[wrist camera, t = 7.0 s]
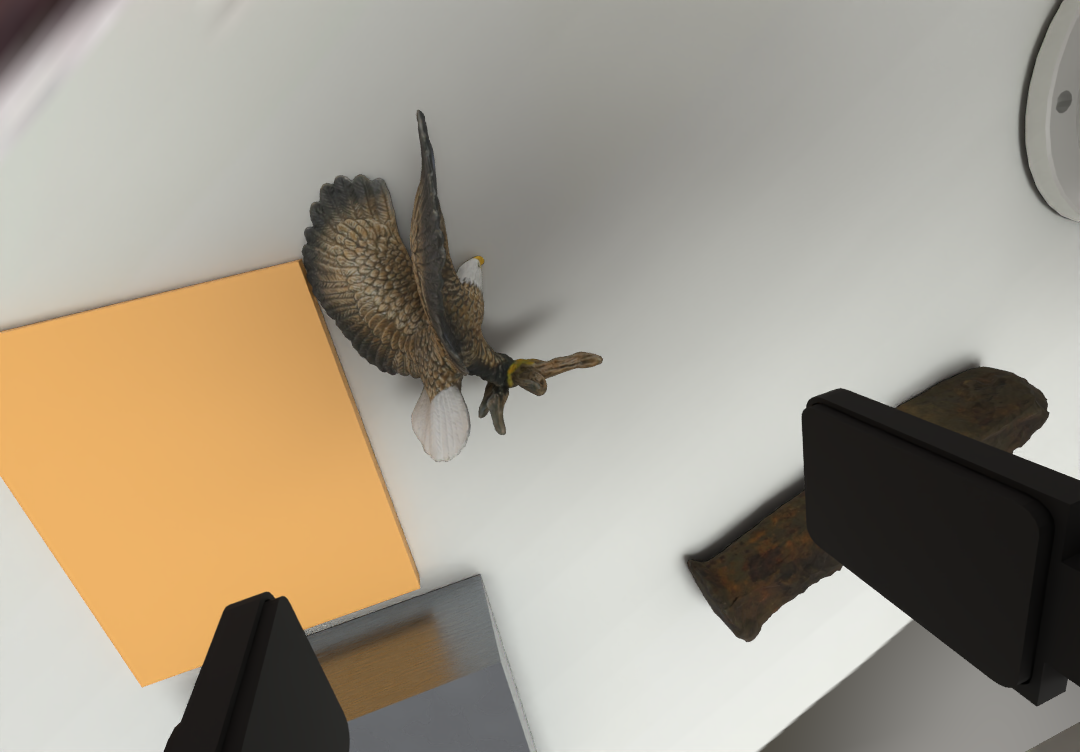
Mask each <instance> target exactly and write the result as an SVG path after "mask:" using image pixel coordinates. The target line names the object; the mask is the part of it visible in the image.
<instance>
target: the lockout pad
mask: <svg viewBox="0 0 1080 752" xmlns="http://www.w3.org/2000/svg"><path fill="white" fill-rule="evenodd" d="M306 275H307V272H306V269H305V267H304V264H303V261H302V259H300V260H295V261H291V262H287V263H283V264H279V265H275V266H271V267H266V268H262V269H258V270H254V271H250V272H246V273H242V274H237V275H233V276H229V277H225V278H221V279H217V280H212V281H208V282H204V283H200V284H196V285H192V286H188V287H183V288H179V289H175V290H171V291H167V292H163V293H159V294H154V295H150V296H146V297H142V298H138V299H134V300H130V301H125V302H121V303H117V304H113V305H109V306H105V307H101V308H96V309H92V310H88V311H84V312H80V313H76V314H72V315H67V316H63V317H59V318H55V319H51V320H47V321H42V322H38V323H34V324H30V325H26V326H22V327H18V328H13V329H9V330H5V331H1V332H0V476H1V477H2V479H3V480H4V482H5V483H6V485H7V486H8V488H9V489H10V491H11V492H12V494H13V495H14V497H15V498H16V500H17V501H18V503H19V504H20V506H21V507H22V509H23V510H24V512H25V513H26V515H27V516H28V518H29V519H30V521H31V522H32V524H33V525H34V527H35V528H36V530H37V531H38V533H39V534H40V536H41V537H42V539H43V540H44V542H45V543H46V545H47V546H48V548H49V549H50V551H51V552H52V554H53V555H54V557H55V558H56V560H57V561H58V563H59V564H60V566H61V567H62V568H63V570H64V571H65V573H66V574H67V576H68V577H69V579H70V580H71V582H72V583H73V585H74V586H75V588H76V589H77V591H78V592H79V594H80V595H81V597H82V598H83V600H84V601H85V603H86V604H87V606H88V607H89V609H90V610H91V612H92V613H93V615H94V616H95V618H96V619H97V621H98V622H99V624H100V625H101V627H102V628H103V630H104V631H105V633H106V634H107V636H108V637H109V639H110V640H111V642H112V643H113V645H114V646H115V648H116V649H117V651H118V652H119V654H120V655H121V657H122V658H123V660H124V661H125V663H126V664H127V666H128V667H129V669H130V670H131V672H132V673H133V675H134V676H135V678H136V679H137V681H138V682H139V684H140V685H141V687H144V686H147V685H150V684H153V683H156V682H158V681H161V680H164V679H167V678H170V677H172V676H175V675H178V674H181V673H184V672H186V671H189V670H192V669H195V668H198V667H201V666H202V665H203V663H204V660H205V657H206V655H207V652H208V649H209V647H210V644H211V642H212V639H213V636H214V634H215V631H216V629H217V626H218V623H219V621H220V618H221V615H222V613H223V611H224V609H225V607H226V606H228V605H229V604H232V603H235V602H238V601H241V600H244V599H246V598H249V597H252V596H255V595H258V594H260V593H263V592H266V591H267V592H270V593H271V594H272V595H273V596H274V597H275V598H278V597H281V596H285V597H286V598H287V599H288V600H289V602H290V604H291V606H292V608H293V610H294V612H295V614H296V616H297V618H298V620H299V622H300V624H301V626H302V628H303V630H305V629H307V628H310V627H313V626H316V625H319V624H321V623H324V622H327V621H330V620H333V619H336V618H338V617H341V616H344V615H347V614H350V613H352V612H355V611H358V610H361V609H364V608H367V607H369V606H372V605H375V604H378V603H381V602H383V601H386V600H389V599H392V598H395V597H397V596H400V595H403V594H406V593H409V592H412V591H414V590H417V589H420V577H419V574H418V571H417V568H416V566H415V563H414V560H413V557H412V555H411V552H410V549H409V547H408V544H407V541H406V539H405V536H404V533H403V531H402V528H401V525H400V522H399V520H398V517H397V514H396V512H395V509H394V506H393V504H392V501H391V498H390V496H389V493H388V490H387V487H386V485H385V482H384V479H383V477H382V474H381V471H380V469H379V466H378V463H377V460H376V458H375V455H374V452H373V450H372V447H371V444H370V442H369V439H368V436H367V434H366V431H365V428H364V425H363V423H362V420H361V417H360V415H359V412H358V409H357V407H356V404H355V401H354V399H353V396H352V393H351V390H350V388H349V385H348V382H347V380H346V377H345V374H344V372H343V369H342V366H341V364H340V361H339V358H338V355H337V353H336V350H335V347H334V345H333V342H332V339H331V337H330V334H329V331H328V328H327V326H326V323H325V320H324V318H323V315H322V312H321V310H320V307H319V304H318V302H317V299H316V297H315V296H314V294H313V292H312V286H311V284H310V283H309V282H308V280H307V278H306Z"/></svg>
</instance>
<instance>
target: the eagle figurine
mask: <svg viewBox="0 0 1080 752" xmlns="http://www.w3.org/2000/svg"><path fill="white" fill-rule="evenodd" d="M417 121H418V131H419V138H420V144H421V155H422V171H421V180H420V184H419V186H418V189H417V193H416V197H415V201H414V208H413V214H412V219H411V230H410V246H411V252H412V257H411V258H410V256H409V254H408V252H407V250H406V248H405V246H404V245H403V243H402V241H401V238H400V236H399V233H398V229H397V224H396V218H395V212H394V209H393V207H392V201H391V197H390V193H389V191H388V189H387V186H386V183H385V182H384V180H383V179H380V178H377V179H374V180H373V181H371V180H369V179H368V178H366V177H365V176H364V175H358V176H356V177H355V178H354V179H353V181H351V180H350V179H349V178H347V177H345V176H337V177H336V178H335V180H334V184H329V183H326V184H323V186H322V187H321V189H320V201H319V202H314V203H312V204H311V207H310V217H311V221H312V223H313V227H311V228H310V227H307V228H306V230H305V231H304V235H305V237H306V240H307V245H304V246H303V250H302V254H303V256H304V266H305V268H306V270H307V275H306V278H307V280H308V282H309V283H310V284H311V286H312V292H313V294H314V296H315V297H316V298H317V299H318V300H319V301H321V305H322V307H323V308H324V309H325V310H326V313H327V314H328V315H329V316H330V317H331V318H332V319H334V320H336V325H337V326H338V327H339V329H340V330H342V333H343V334H344V336H345V337H346V338H347V339H349V340H351V342H352V345H353V347H354V349H356V350H357V351H358V353H359V355H360V356H361V357H364V358H365V359H366V360H367V361H368V362H369V363H370V364H373V365H375V366H377V367H378V368H379V370H381V371H382V372H388V373H389V374H391V375H395V374H397V373H399V374H400V375H403V376H407V375H409V374H410V375H411V376H412V377H413V378H421V380H422V382H423V384H424V388H423V391H422V393H421V396H420V398H419V400H418V402H417V404H416V406H415V408H414V410H413V412H412V416H411V417H412V427H413V430H414V433H415V434H416V435H417V437H418V439H419V440H420V441H421V443H422V446H423V448H424V451H425V452H426V453H427V454H429V455H430V456H431V458H432V459H434V460H435V461H436V462H441V461H445V462H448V461H450V460H451V459H453V458H454V457H455V456H456V455H458V454H459V453H460V452H461V450H462V448H463V447H465V445H466V443H467V440H468V437H469V434H470V426H471V425H470V417H469V412H468V409H467V406H466V403H465V401H464V398H463V396H462V394H461V386H462V385H461V381H462V378H463V375H464V376H466V375H467V374H468V375H476V376H480V377H481V379H483V380H486V381H487V382H488V383H487V386H486V388H485V393H484V397H483V400H482V403H481V405H480V407H479V418H483V417H485V416H486V415H487V413H488V412H489V411H490V413H491V416H492V420H493V425H494V427H495V430H496V431H497V432H498V433H499V434H500V435H505V434H506V428H505V424H504V420H503V409H504V404H505V402H506V400H507V398H508V395H509V388H512V387H516V386H517V385H519V386H520V387H522V388H524V389H525V390H527V391H529V392H531V393H533V394H535V395H537V396H541V395H543V394H544V393H545V392H546V390H547V383H546V380H545V379H547V378H549V377H552V376H555V375H558V374H560V373H563V372H566V371H569V370H572V369H575V368H589V367H593V366H596V365H599V364H601V363H602V361H603V358H602V357H601V356H599V355H596V354H592V353H586V352H577V353H575V354H573V355H570V356H565V357H558V358H554V359H552V360H550V361H542V360H538V359H517V360H513V359H512V358H511V357H509V356H508V355H506V354H501V353H496V352H494V351H493V349H492V348H491V347H490V346H489V345H488V344H487V342H486V341H485V339H484V337H483V334H482V331H481V324H482V321H483V315H484V301H483V292H482V269H481V265H482V264H483V263H484V259H483V257H481V256H476V257H474V258H472V259H470V260H468V261H467V262H465V263H464V264H463V265H461V266H460V268H459V269H458V271H457V274H456V272H455V270H454V267H453V264H452V261H451V258H450V254H449V249H448V241H447V234H446V228H445V223H444V218H443V215H442V212H441V208H440V203H439V200H438V197H437V186H436V172H435V160H434V154H433V149H432V146H431V143H430V140H429V137H428V132H427V126H426V122H425V116H424V114H423V113H422V111H420V110H417ZM411 259H412V260H411Z"/></svg>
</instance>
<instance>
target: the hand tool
mask: <svg viewBox="0 0 1080 752" xmlns="http://www.w3.org/2000/svg"><path fill="white" fill-rule="evenodd" d="M1047 407H1048V404H1047V399H1046V398H1045V397H1044V395H1043V393H1042V392H1041V391H1040V390H1039V389H1037V388H1035V387H1034V386H1033V385H1031V384H1029V383H1028V381H1027V380H1026V379H1025V378H1021V377H1019V376H1017V375H1015V374H1014V373H1012V372H1008V371H1004V370H999V369H995V368H990V367H978V368H973V369H969V370H967V371H965V372H963V373H960V374H958V375H956V376H954V377H952V378H950V379H947V380H944V381H942V382H939V383H938V384H937V385H936V386H933V387H931V388H930V389H928V390H927V391H925V392H924V393H922V394H920V395H919V396H917V397H915V398H913V399H911V400H909V401H907V402H906V403H903V404H901V405H900V406H898V407H897V408H895V409H898V410H900V411H903V412H905V413H908V414H910V415H913V416H916V417H918V418H921V419H923V420H926V421H928V422H931V423H934V424H936V425H939V426H941V427H944V428H946V429H949V430H952V431H954V432H957V433H959V434H962V435H964V436H967V437H970V438H972V439H975V440H977V441H980V442H982V443H985V444H988V445H990V446H993V447H995V448H998V449H1000V450H1003V451H1006V452H1008V453H1011V454H1012V453H1013V450H1015V449H1016V448H1019V447H1022V446H1023V445H1024V444H1025V443H1026V442H1027V441H1028V440H1029V439H1030V437H1031V435H1032V434H1033V433H1034V432H1035V431H1036V430H1038V429H1040V428H1041V427H1042V426H1043V424H1044V423H1045V422H1046V420H1047V418H1048V416H1049V412H1048V411H1047ZM687 564H688V567H689V569H690V571H691V573H692V575H693V577H694V579H695V581H696V583H697V585H698V587H699V588H700V590H701V592H702V594H703V596H704V597H705V599H706V600H707V602H708V603H709V605H710V606H711V608H712V610H713V611H714V613H715V614H716V615H717V616H718V617H720V618H721V620H722V621H723V622H724V623H725V624H726V625H727V626H728V627H729V629H730V630H731V631H732V632H733V633H734V634H735V636H736V637H738V638H741V639H743V640H745V641H746V642H750V641H752V640H754V639H755V638H756V636H757V635H758V634H759V632H760V630H761V627H762V625H763V624H764V623H765V622H766V621H767V620H768V618H770V617H771V615H772V614H773V613H775V612H776V611H778V609H779V608H780V607H781V606H782V605H784V604H785V603H787V602H789V601H791V600H792V599H794V598H795V597H796V596H797V595H798V594H801V593H804V592H805V590H806V589H807V588H808V587H809V586H811V585H812V584H814V583H817V582H818V581H819V580H820V579H822V578H824V577H828V576H831V575H832V574H833V573H834V572H836V571H840V570H841V568H842V566H843V565H842V564H841V563H839V562H838V561H837V560H836V559H834V558H833V557H832V556H830V555H829V554H828V553H826V552H825V551H824V550H823V549H821V548H820V547H819V546H818V545H817V544H815V543H814V541H813V540H812V539H811V537H810V535H809V533H808V530H807V525H806V504H805V490H804V491H803V492H801V493H800V494H798V495H797V496H796V497H794V498H793V499H791V500H790V501H789V502H787V503H785V504H784V505H782V506H781V507H780V508H778V509H777V510H776V511H775V512H773V513H772V514H771V515H769V516H767V517H766V518H764V519H763V520H762V521H761V522H760V523H759V524H757V525H756V526H755V527H754V528H752V529H751V530H750V531H748V532H746V533H745V534H744V535H743V536H741V537H740V538H738V539H737V540H735V541H734V542H733V543H732V544H731V545H729V546H728V547H727V548H726V549H725V550H724V551H722V552H721V553H719V554H718V555H716V556H715V557H713V558H712V559H710V560H709V561H705V562H700V561H695V560H688V562H687Z"/></svg>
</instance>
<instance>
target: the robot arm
mask: <svg viewBox="0 0 1080 752" xmlns="http://www.w3.org/2000/svg"><path fill="white" fill-rule="evenodd" d="M1025 145H1026V151H1027V157H1028V163H1029V168H1030V170H1031V173H1032V176H1033V179H1034V181H1035V184H1036V187H1037V189H1038V190H1039V192H1040V193H1041V194H1042V196H1043V197H1044V199H1045V200H1046V202H1047V203H1048V205H1050V206H1051V207H1052V208H1053V209H1054V210H1055V211H1057V212H1058V213H1059V214H1060V215H1061V216H1064V217H1066V218H1069V219H1071V220H1074V221H1076V222H1080V0H1063V2H1062V3H1061V5H1060V7H1059V9H1058V11H1057V13H1056V14H1055V16H1054V18H1053V20H1052V22H1051V24H1050V26H1049V28H1048V30H1047V33H1046V35H1045V38H1044V40H1043V43H1042V46H1041V48H1040V51H1039V53H1038V56H1037V59H1036V63H1035V67H1034V70H1033V74H1032V78H1031V82H1030V85H1029V91H1028V99H1027V106H1026V113H1025ZM802 436H803V459H804V481H805V504H806V525H807V530H808V533H809V535H810V537H811V539H812V540H813V541H814V543H815V544H817V545H818V546H819V547H820V548H821V549H823V550H824V551H825V552H826V553H828V554H829V555H830V556H832V557H833V558H834V559H836V560H837V561H838V562H839V563H841V564H842V565H843V566H845V567H846V568H847V569H849V570H850V571H851V572H852V573H854V574H855V575H856V576H858V577H859V578H860V579H862V580H863V581H864V582H865V583H867V584H868V585H869V586H871V587H872V588H873V589H875V590H876V591H877V592H878V593H880V594H881V595H882V596H884V597H885V598H886V599H888V600H889V601H890V602H891V603H893V604H894V605H895V606H897V607H898V608H899V609H901V610H902V611H903V612H904V613H906V614H907V615H908V616H910V617H911V618H912V619H914V620H915V621H916V622H917V623H919V624H920V625H922V626H923V627H924V628H925V629H927V630H928V631H929V632H930V633H932V634H933V635H935V636H936V637H937V638H938V639H940V640H941V641H942V642H944V643H945V644H946V645H947V646H949V647H950V648H951V649H953V650H954V651H955V652H957V653H958V654H959V655H960V656H962V657H963V658H964V659H966V660H967V661H968V662H969V663H971V664H972V665H973V666H975V667H976V668H977V669H979V670H980V671H981V672H983V673H984V674H985V675H987V676H988V677H989V678H990V679H992V680H993V681H995V682H996V683H998V684H1000V685H1002V686H1004V687H1008V688H1013V689H1014V690H1016V691H1017V692H1018V693H1020V694H1021V695H1022V696H1024V697H1025V698H1026V699H1028V700H1029V701H1030V702H1031V703H1033V704H1034V705H1035V706H1039V705H1041V704H1043V703H1044V702H1046V701H1048V700H1050V699H1052V698H1054V697H1056V696H1058V695H1059V694H1061V693H1063V692H1065V691H1066V685H1067V680H1068V679H1069V680H1071V681H1072V682H1074V683H1075V684H1077V685H1078V686H1079V687H1080V480H1078V479H1075V478H1072V477H1070V476H1067V475H1065V474H1062V473H1060V472H1057V471H1054V470H1052V469H1049V468H1047V467H1044V466H1042V465H1039V464H1036V463H1034V462H1031V461H1029V460H1026V459H1024V458H1021V457H1018V456H1016V455H1013V454H1011V453H1008V452H1006V451H1003V450H1000V449H998V448H995V447H993V446H990V445H988V444H985V443H982V442H980V441H977V440H975V439H972V438H970V437H967V436H964V435H962V434H959V433H957V432H954V431H952V430H949V429H946V428H944V427H941V426H939V425H936V424H934V423H931V422H928V421H926V420H923V419H921V418H918V417H916V416H913V415H910V414H908V413H905V412H903V411H900V410H898V409H895V408H892V407H890V406H887V405H885V404H882V403H880V402H877V401H875V400H872V399H869V398H867V397H864V396H862V395H859V394H857V393H854V392H851V391H849V390H846V389H841V388H840V389H835V390H832V391H829V392H827V393H824V394H821V395H818V396H815V397H812V398H811V399H810V400H809V401H808V403H807V405H806V409H804V410H803V413H802ZM349 748H350V735H349V728H348V723H347V719H346V717H345V714H344V712H343V710H342V708H341V706H340V704H339V702H338V700H337V698H336V696H335V694H334V691H333V689H332V687H331V685H330V683H329V681H328V679H327V677H326V675H325V673H324V671H323V669H322V667H321V665H320V663H319V661H318V659H317V657H316V655H315V653H314V651H313V649H312V647H311V645H310V642H309V640H308V638H307V636H306V634H305V632H304V630H303V628H302V626H301V624H300V622H299V620H298V618H297V616H296V614H295V612H294V610H293V608H292V606H291V604H290V602H289V600H288V599H287V598H286V597H285V596H281V597H278V598H275V597H274V596H273V595H272V594H271V593H270V592H267V591H266V592H263V593H260V594H258V595H255V596H252V597H249V598H246V599H244V600H241V601H238V602H235V603H232V604H229V605H228V606H226V607H225V609H224V611H223V613H222V615H221V618H220V621H219V623H218V626H217V629H216V631H215V634H214V636H213V639H212V642H211V644H210V647H209V649H208V652H207V655H206V657H205V660H204V663H203V665H202V668H201V670H200V673H199V676H198V678H197V681H196V684H195V686H194V689H193V691H192V694H191V697H190V699H189V702H188V704H187V707H186V710H185V712H184V715H183V718H182V720H181V722H180V723H179V724H178V725H177V726H176V727H175V728H174V730H173V732H172V734H171V736H170V738H169V739H168V742H167V744H166V747H165V750H164V752H349ZM1026 752H1080V722H1079V723H1077V724H1075V725H1073V726H1071V727H1070V728H1068V729H1066V730H1064V731H1062V732H1060V733H1059V734H1057V735H1055V736H1053V737H1052V738H1050V739H1048V740H1046V741H1044V742H1042V743H1041V744H1039V745H1037V746H1035V747H1033V748H1031V749H1029V750H1028V751H1026Z"/></svg>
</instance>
